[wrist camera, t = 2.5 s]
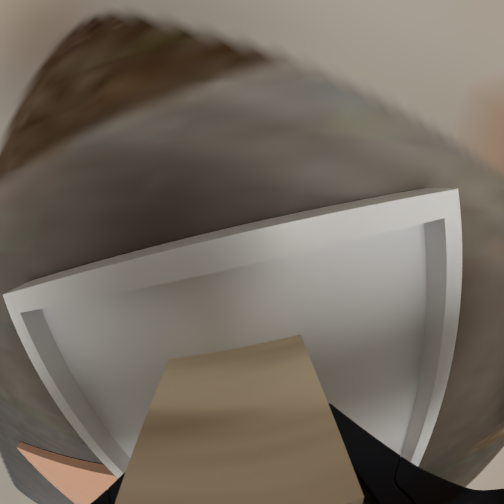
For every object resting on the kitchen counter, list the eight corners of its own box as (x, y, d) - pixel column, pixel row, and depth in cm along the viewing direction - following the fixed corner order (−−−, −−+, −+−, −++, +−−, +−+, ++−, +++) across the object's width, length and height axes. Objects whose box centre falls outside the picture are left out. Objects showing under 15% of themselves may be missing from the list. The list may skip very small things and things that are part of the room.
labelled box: (314, 421, 9) (351, 546, 3) (208, 439, 9) (196, 562, 3) (300, 334, 8) (366, 503, 2) (169, 358, 9) (110, 516, 2)
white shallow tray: (396, 478, 12) (404, 494, 11) (188, 516, 13) (186, 533, 11) (426, 188, 8) (457, 188, 6) (29, 281, 8) (2, 294, 7)
